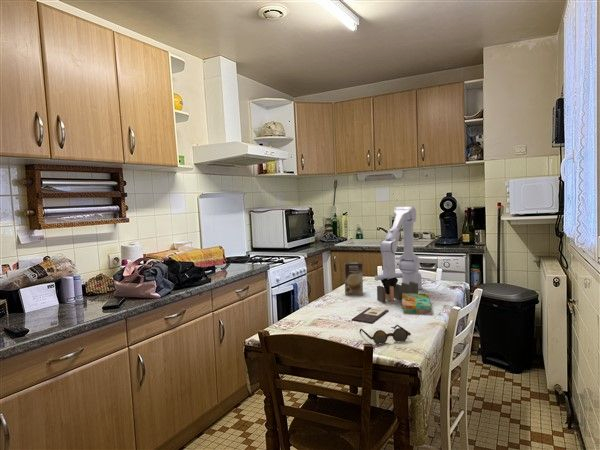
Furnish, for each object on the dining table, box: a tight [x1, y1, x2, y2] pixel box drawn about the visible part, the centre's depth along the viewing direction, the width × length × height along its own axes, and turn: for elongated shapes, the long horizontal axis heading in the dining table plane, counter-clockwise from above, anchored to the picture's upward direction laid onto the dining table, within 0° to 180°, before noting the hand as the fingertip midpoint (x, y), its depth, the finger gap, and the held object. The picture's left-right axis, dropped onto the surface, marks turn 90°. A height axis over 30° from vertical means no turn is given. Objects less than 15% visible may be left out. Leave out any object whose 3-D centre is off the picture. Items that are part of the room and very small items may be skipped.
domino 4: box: [400, 282, 410, 293], centre depth 189 cm, size 2×5×7 cm, turn 18°
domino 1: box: [376, 285, 387, 304], centre depth 185 cm, size 2×5×7 cm, turn 18°
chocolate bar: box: [351, 307, 389, 325], centre depth 165 cm, size 9×1×18 cm
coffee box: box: [344, 261, 364, 296], centre depth 201 cm, size 9×6×16 cm
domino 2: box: [385, 285, 395, 302], centre depth 187 cm, size 2×5×7 cm, turn 19°
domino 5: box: [409, 281, 419, 294], centre depth 191 cm, size 2×5×7 cm, turn 18°
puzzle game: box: [401, 292, 432, 314], centre depth 174 cm, size 12×5×20 cm
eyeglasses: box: [359, 324, 412, 345], centre depth 142 cm, size 15×15×5 cm
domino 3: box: [394, 283, 402, 301], centre depth 188 cm, size 2×5×7 cm, turn 18°
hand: (389, 293), depth 187 cm, fingers closed on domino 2, 2 cm apart
